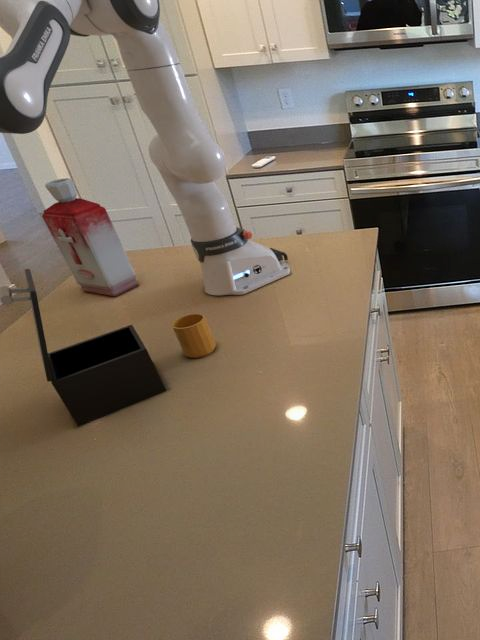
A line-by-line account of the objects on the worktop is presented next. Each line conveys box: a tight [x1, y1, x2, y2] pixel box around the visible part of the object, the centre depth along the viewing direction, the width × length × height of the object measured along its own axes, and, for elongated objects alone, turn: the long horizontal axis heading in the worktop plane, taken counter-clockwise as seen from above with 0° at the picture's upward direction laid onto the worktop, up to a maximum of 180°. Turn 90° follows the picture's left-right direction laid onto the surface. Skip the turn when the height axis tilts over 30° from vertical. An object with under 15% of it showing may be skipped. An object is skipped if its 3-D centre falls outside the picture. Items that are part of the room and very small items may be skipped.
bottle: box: [41, 177, 140, 297], centre depth 151 cm, size 14×10×30 cm
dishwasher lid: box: [0, 268, 53, 382], centre depth 99 cm, size 16×14×5 cm
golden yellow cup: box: [171, 312, 217, 359], centre depth 122 cm, size 6×6×8 cm
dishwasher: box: [48, 324, 167, 427], centre depth 110 cm, size 16×14×10 cm
